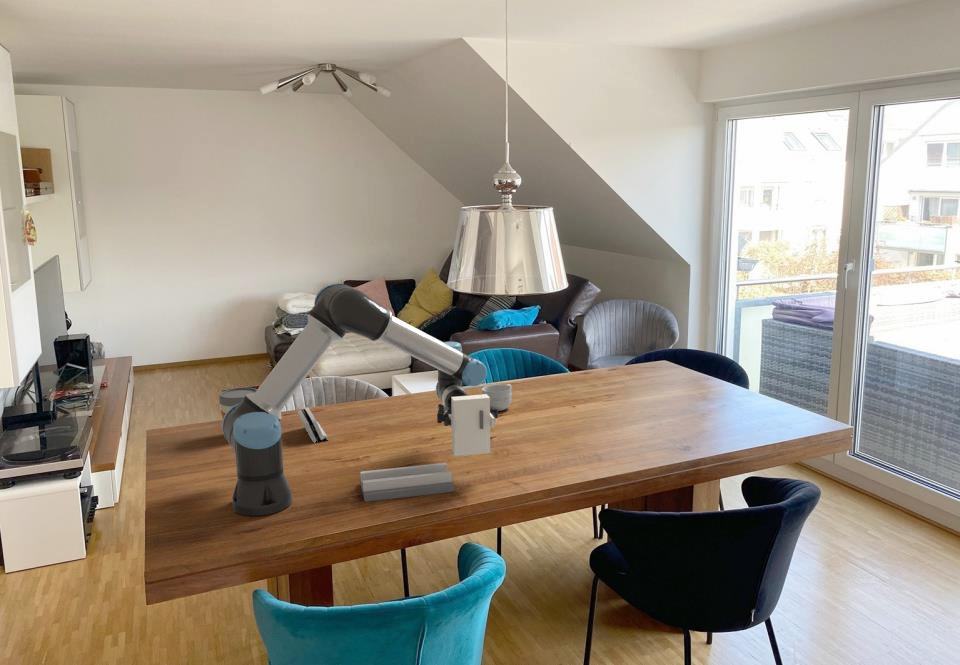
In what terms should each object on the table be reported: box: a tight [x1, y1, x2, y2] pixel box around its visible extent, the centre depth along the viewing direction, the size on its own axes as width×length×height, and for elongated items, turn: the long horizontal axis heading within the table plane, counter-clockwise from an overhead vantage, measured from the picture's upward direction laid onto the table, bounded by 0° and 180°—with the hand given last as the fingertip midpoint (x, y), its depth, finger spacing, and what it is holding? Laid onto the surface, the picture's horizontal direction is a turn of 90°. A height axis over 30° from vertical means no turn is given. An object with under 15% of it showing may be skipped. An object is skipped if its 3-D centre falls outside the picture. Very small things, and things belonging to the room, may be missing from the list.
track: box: [359, 462, 455, 503], centre depth 210 cm, size 24×12×4 cm, turn 104°
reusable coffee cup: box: [219, 386, 258, 419], centre depth 251 cm, size 13×12×15 cm
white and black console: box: [297, 406, 329, 443], centre depth 253 cm, size 17×5×10 cm, turn 23°
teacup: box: [481, 383, 513, 412], centre depth 279 cm, size 14×11×8 cm
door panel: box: [451, 393, 491, 457], centre depth 211 cm, size 10×4×16 cm, turn 104°
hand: (474, 424), depth 207 cm, fingers closed on door panel, 10 cm apart
